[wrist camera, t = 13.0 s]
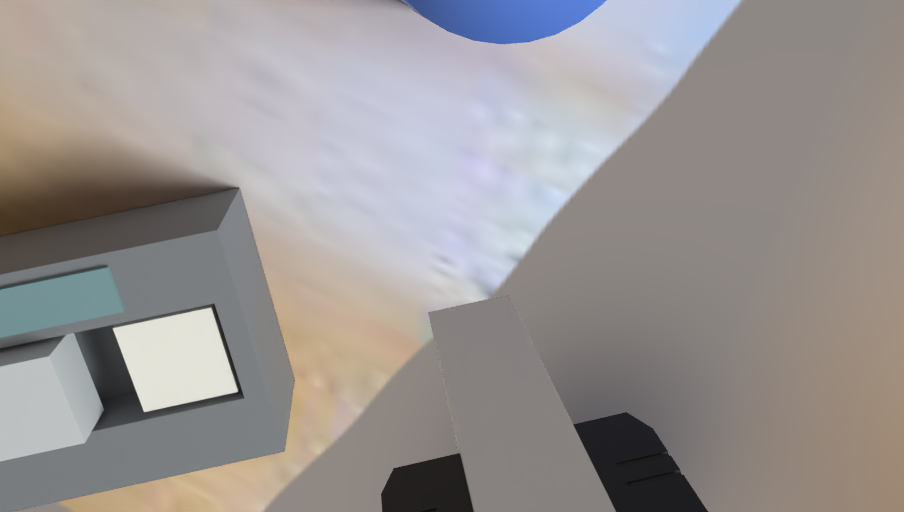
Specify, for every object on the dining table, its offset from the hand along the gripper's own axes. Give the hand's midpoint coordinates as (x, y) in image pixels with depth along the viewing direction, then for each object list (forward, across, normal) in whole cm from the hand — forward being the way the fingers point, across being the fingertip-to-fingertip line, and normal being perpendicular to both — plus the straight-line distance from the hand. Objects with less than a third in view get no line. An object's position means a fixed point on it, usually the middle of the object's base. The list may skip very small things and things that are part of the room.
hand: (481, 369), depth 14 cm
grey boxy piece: (+32, -21, -10) cm, 40 cm away
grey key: (+26, -21, -10) cm, 35 cm away
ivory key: (+28, -14, -10) cm, 32 cm away
